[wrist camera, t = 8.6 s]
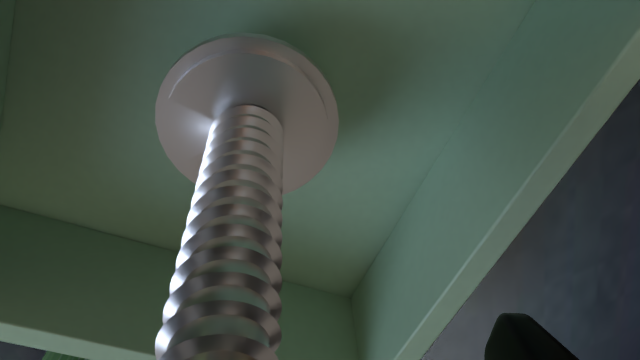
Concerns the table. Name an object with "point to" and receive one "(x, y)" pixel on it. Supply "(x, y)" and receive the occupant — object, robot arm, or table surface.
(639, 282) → the table surface
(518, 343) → the robot arm
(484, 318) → the table surface
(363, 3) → the open square box
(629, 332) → the table surface
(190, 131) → the screw
